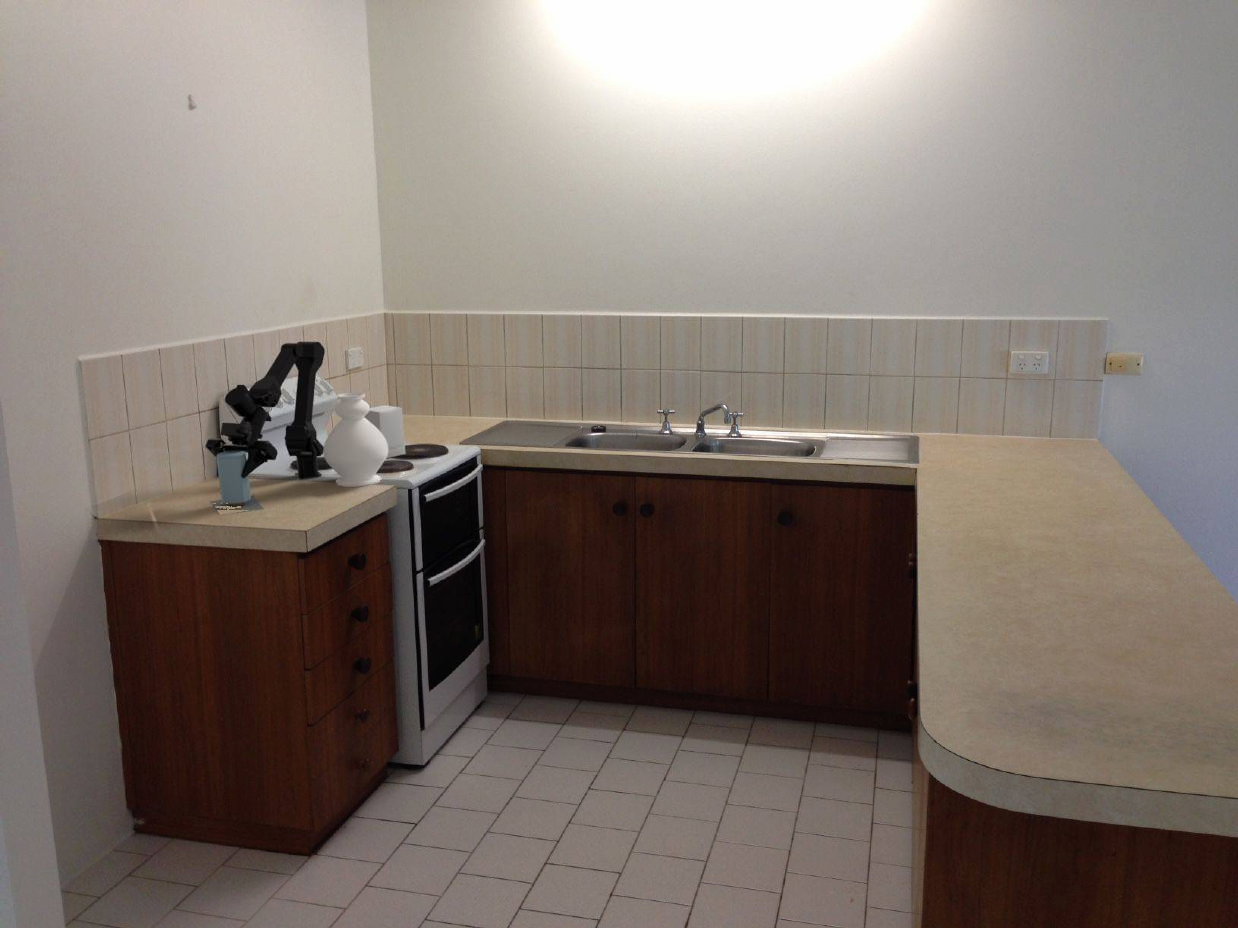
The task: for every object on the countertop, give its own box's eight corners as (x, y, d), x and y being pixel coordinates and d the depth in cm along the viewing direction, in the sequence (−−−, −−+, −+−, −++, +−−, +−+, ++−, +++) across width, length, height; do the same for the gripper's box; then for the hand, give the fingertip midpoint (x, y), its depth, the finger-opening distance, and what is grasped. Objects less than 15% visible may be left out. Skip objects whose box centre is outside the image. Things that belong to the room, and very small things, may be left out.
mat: (211, 503, 290) (210, 501, 290) (253, 496, 295) (253, 495, 295) (219, 517, 276) (219, 515, 276) (263, 510, 281) (263, 508, 281)
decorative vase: (314, 483, 308) (305, 396, 302) (366, 470, 321) (359, 387, 315) (350, 492, 297) (342, 402, 291) (403, 479, 309) (396, 392, 304)
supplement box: (406, 454, 341) (403, 407, 338) (382, 459, 335) (378, 411, 331) (389, 450, 347) (385, 404, 344) (365, 455, 341) (361, 408, 337)
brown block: (227, 504, 287) (226, 493, 286) (243, 502, 288) (242, 491, 288) (230, 507, 283) (228, 496, 282) (245, 505, 285) (244, 494, 284)
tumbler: (225, 497, 288) (220, 451, 285) (253, 495, 289) (247, 449, 286) (219, 504, 282) (213, 457, 279) (247, 502, 282) (241, 455, 279)
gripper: (205, 408, 286) (182, 459, 279) (266, 410, 281) (245, 462, 273) (227, 431, 295) (206, 481, 288) (286, 433, 290) (267, 484, 282)
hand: (230, 476), depth 283 cm, fingers closed on tumbler, 7 cm apart
